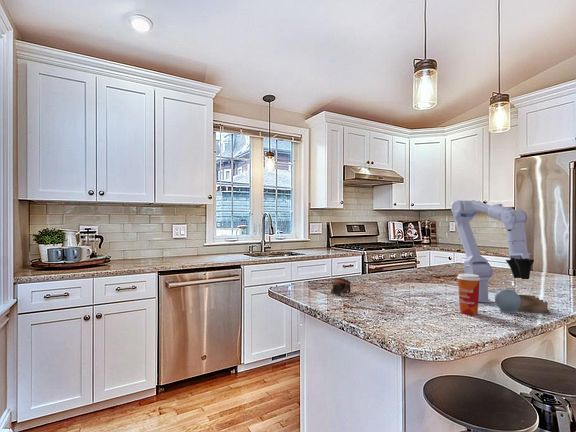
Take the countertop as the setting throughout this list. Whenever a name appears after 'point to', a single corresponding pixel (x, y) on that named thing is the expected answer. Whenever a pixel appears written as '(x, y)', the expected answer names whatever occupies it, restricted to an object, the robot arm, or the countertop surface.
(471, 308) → the paper cup
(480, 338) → the countertop surface
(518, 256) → the robot arm
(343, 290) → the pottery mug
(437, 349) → the countertop surface
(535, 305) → the rack
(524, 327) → the countertop surface
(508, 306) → the grey rounded disc
